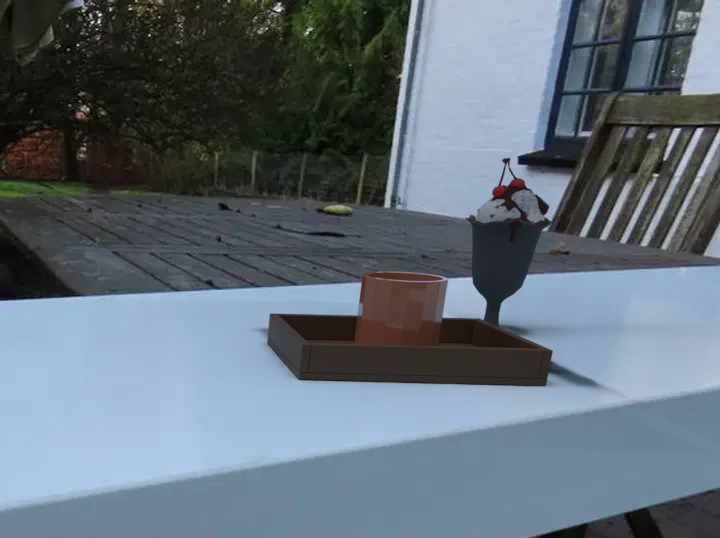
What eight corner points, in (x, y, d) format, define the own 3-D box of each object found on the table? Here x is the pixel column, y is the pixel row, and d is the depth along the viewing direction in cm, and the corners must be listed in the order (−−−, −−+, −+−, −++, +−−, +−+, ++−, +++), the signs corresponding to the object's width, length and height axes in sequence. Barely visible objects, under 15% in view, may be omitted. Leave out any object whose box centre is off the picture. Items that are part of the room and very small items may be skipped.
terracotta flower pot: (421, 349, 73) (432, 272, 71) (447, 365, 67) (460, 282, 66) (345, 347, 73) (354, 270, 71) (365, 363, 68) (375, 280, 66)
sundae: (449, 345, 78) (479, 156, 73) (444, 331, 84) (471, 156, 79) (534, 351, 76) (571, 158, 71) (523, 337, 82) (556, 158, 77)
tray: (474, 348, 77) (479, 318, 76) (546, 385, 64) (553, 350, 63) (267, 343, 77) (269, 313, 76) (298, 379, 65) (302, 344, 64)
